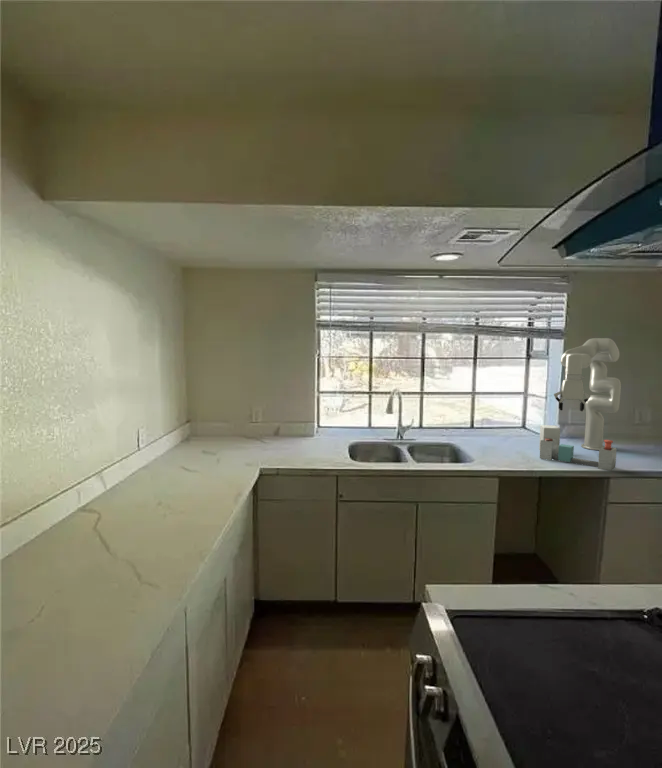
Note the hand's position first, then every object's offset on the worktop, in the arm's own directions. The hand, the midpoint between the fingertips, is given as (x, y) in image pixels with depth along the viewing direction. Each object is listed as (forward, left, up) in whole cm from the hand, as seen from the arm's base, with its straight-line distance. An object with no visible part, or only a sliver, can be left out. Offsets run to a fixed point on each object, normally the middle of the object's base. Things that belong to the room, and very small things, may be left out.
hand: (571, 410), depth 243 cm
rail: (-3, +3, -28) cm, 28 cm away
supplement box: (-17, -15, -28) cm, 36 cm away
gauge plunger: (-3, +17, -18) cm, 25 cm away
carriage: (-3, -2, -28) cm, 28 cm away
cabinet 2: (-3, +17, -28) cm, 33 cm away
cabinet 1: (-3, -11, -28) cm, 30 cm away
